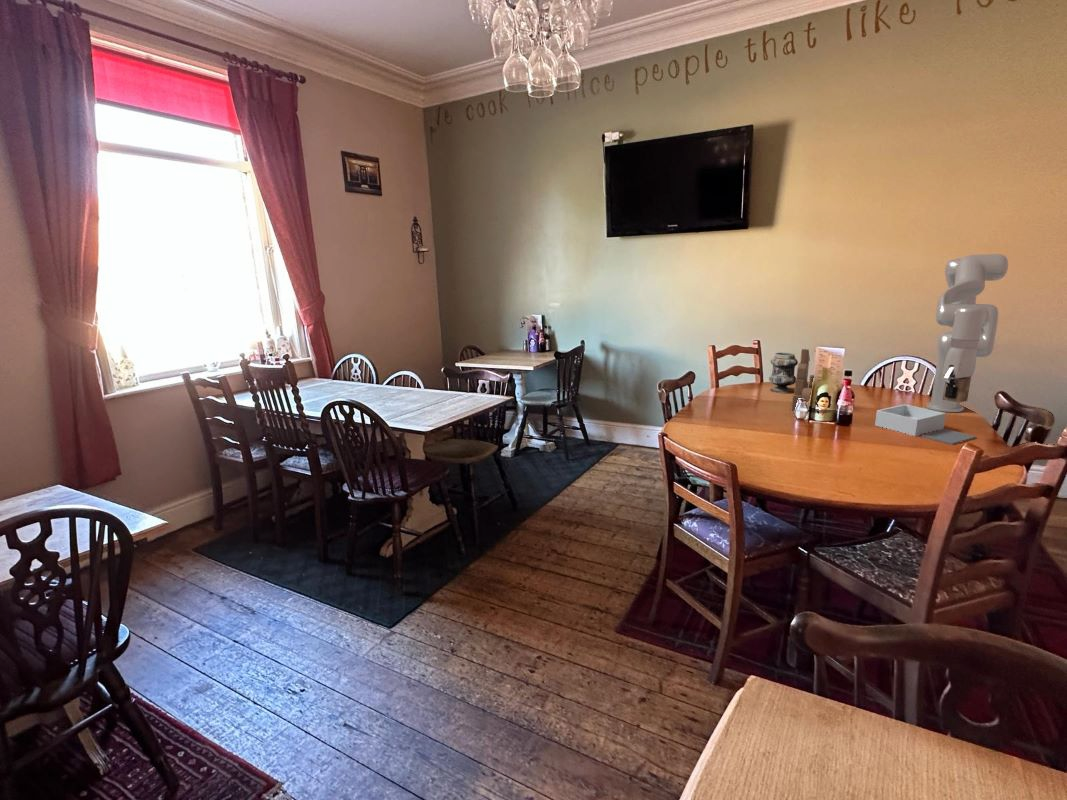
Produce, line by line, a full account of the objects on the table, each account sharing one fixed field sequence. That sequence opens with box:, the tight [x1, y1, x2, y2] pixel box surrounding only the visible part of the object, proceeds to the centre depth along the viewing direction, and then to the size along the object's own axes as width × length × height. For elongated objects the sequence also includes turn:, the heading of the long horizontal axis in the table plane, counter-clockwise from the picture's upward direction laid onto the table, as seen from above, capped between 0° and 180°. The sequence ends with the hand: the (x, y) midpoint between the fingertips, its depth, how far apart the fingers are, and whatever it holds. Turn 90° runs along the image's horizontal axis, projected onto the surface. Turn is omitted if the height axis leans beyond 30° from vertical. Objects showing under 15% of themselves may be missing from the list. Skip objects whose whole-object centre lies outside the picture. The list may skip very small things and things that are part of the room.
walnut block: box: [942, 376, 972, 404], centre depth 185 cm, size 5×5×8 cm
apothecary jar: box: [768, 351, 799, 394], centre depth 257 cm, size 12×12×18 cm
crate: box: [874, 403, 947, 437], centre depth 201 cm, size 17×15×6 cm
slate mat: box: [920, 428, 977, 445], centre depth 189 cm, size 14×10×1 cm
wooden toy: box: [791, 348, 815, 412], centre depth 228 cm, size 15×7×25 cm, turn 144°
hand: (955, 396), depth 186 cm, fingers closed on walnut block, 5 cm apart
